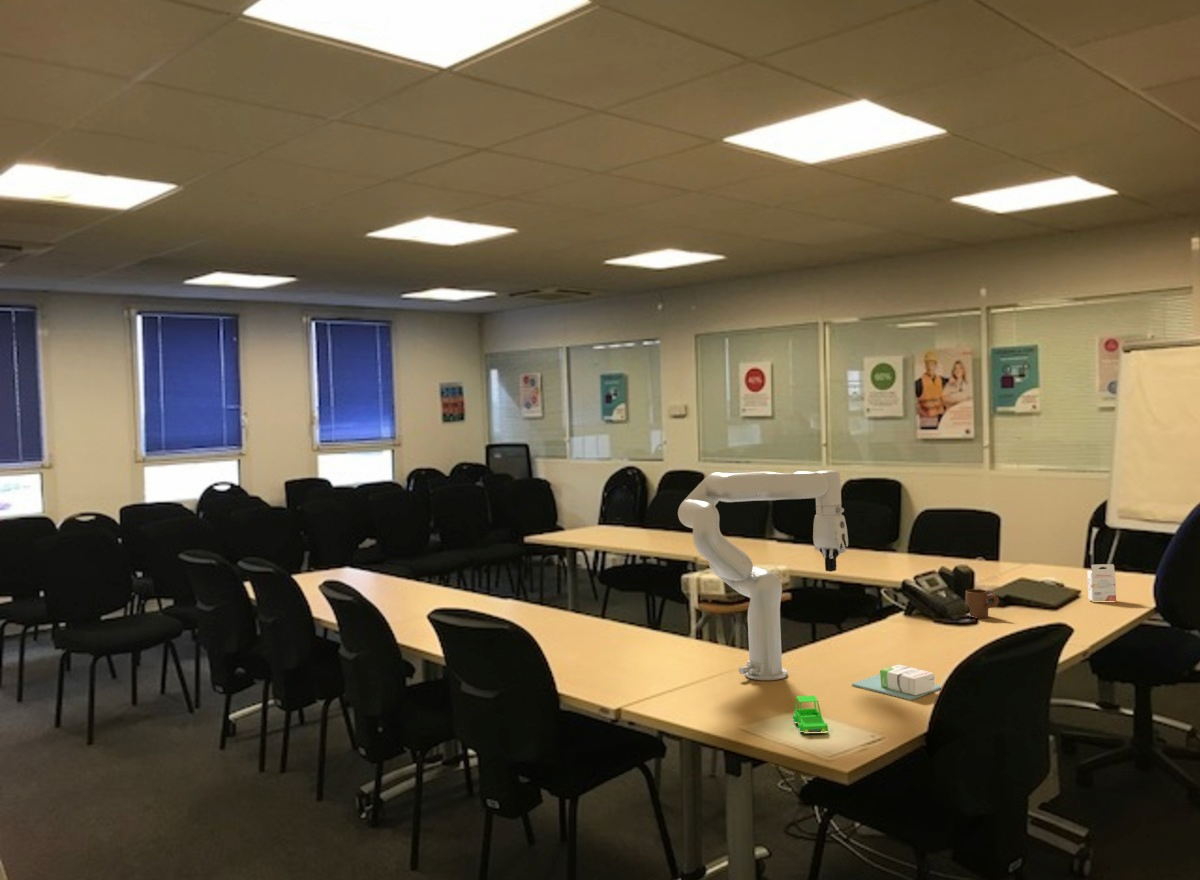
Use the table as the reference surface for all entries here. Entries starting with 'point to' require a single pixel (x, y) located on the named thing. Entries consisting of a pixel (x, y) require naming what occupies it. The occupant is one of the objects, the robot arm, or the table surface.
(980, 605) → the mug
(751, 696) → the table surface
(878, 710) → the table surface
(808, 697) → the toy car
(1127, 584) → the table surface
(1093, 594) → the ink cartridge box
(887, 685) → the white cardboard box
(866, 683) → the mat
